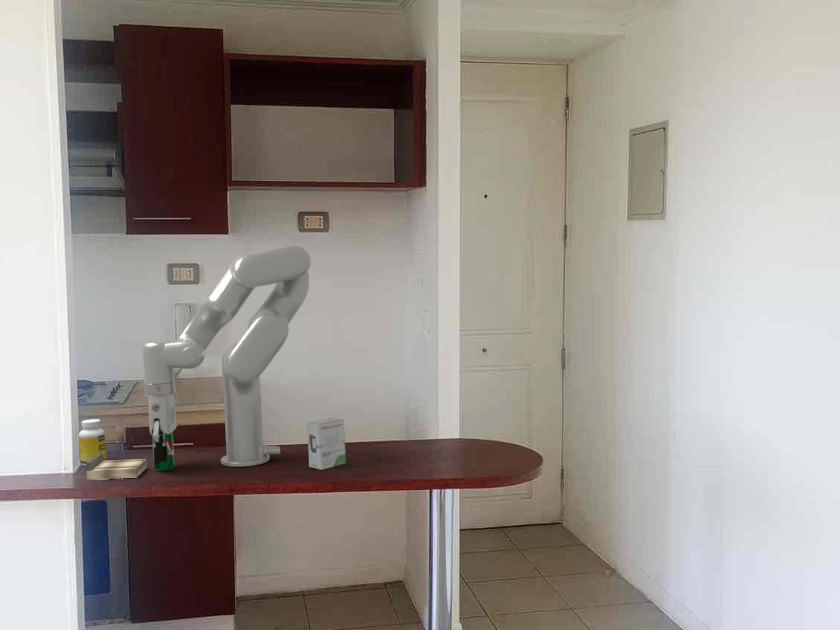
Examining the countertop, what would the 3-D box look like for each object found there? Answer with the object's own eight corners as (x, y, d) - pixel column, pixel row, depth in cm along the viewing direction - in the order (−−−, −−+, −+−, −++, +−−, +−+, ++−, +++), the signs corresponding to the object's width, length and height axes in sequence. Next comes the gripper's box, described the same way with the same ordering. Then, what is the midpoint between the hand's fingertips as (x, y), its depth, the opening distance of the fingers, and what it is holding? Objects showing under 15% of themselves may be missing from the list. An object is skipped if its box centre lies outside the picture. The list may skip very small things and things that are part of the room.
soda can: (157, 467, 228) (155, 421, 227) (177, 466, 228) (174, 421, 227) (151, 472, 223) (148, 425, 222) (170, 471, 223) (168, 425, 222)
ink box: (320, 470, 220) (318, 424, 219) (308, 467, 224) (306, 421, 223) (347, 463, 226) (345, 418, 225) (334, 460, 230) (332, 416, 229)
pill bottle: (97, 467, 231) (95, 423, 230) (75, 466, 232) (72, 423, 231) (111, 460, 237) (108, 418, 236) (89, 460, 238) (86, 418, 237)
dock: (146, 468, 227) (145, 451, 227) (136, 478, 217) (135, 460, 217) (99, 470, 227) (98, 453, 226) (87, 480, 217) (86, 462, 216)
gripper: (167, 394, 216) (171, 466, 217) (182, 383, 233) (185, 450, 234) (136, 395, 215) (140, 468, 217) (153, 384, 232) (156, 452, 234)
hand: (163, 458), depth 225 cm, fingers closed on soda can, 5 cm apart
